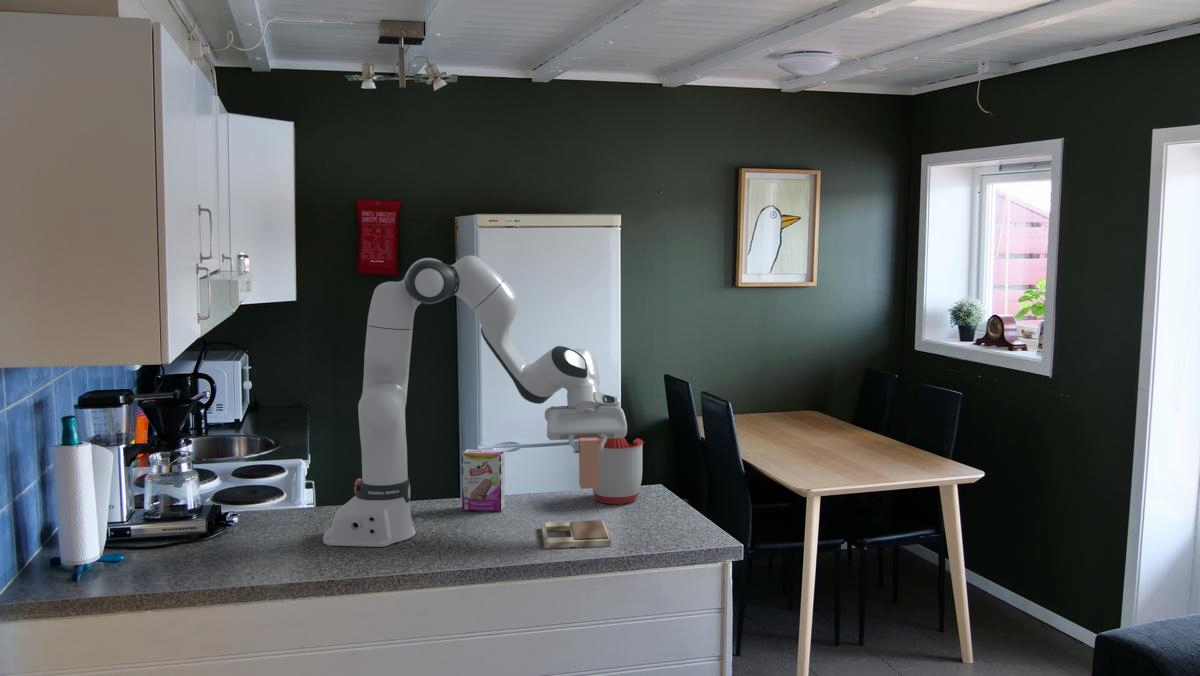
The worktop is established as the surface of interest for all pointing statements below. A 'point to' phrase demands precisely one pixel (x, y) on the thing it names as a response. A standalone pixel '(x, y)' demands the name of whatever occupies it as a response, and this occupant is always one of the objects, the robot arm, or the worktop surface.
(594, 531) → the hole board
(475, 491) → the candy bar box
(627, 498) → the citrus juicer
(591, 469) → the terracotta block
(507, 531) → the worktop surface
